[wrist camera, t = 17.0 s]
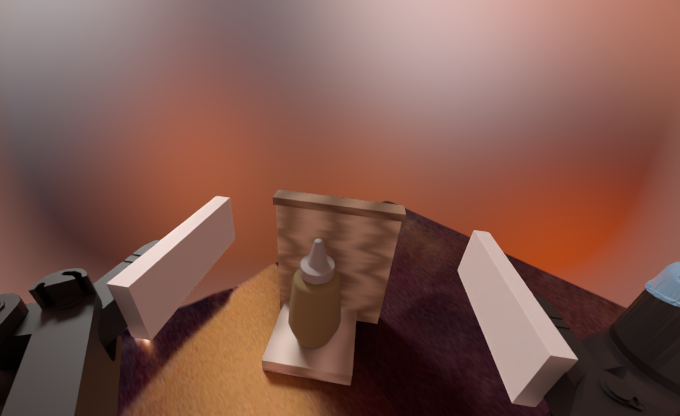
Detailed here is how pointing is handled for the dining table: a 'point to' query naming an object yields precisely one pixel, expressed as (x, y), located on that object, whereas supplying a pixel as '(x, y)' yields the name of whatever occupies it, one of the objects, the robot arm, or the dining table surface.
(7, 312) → the robot arm
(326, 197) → the wooden display stand
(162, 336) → the dining table surface
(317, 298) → the squeeze bottle
